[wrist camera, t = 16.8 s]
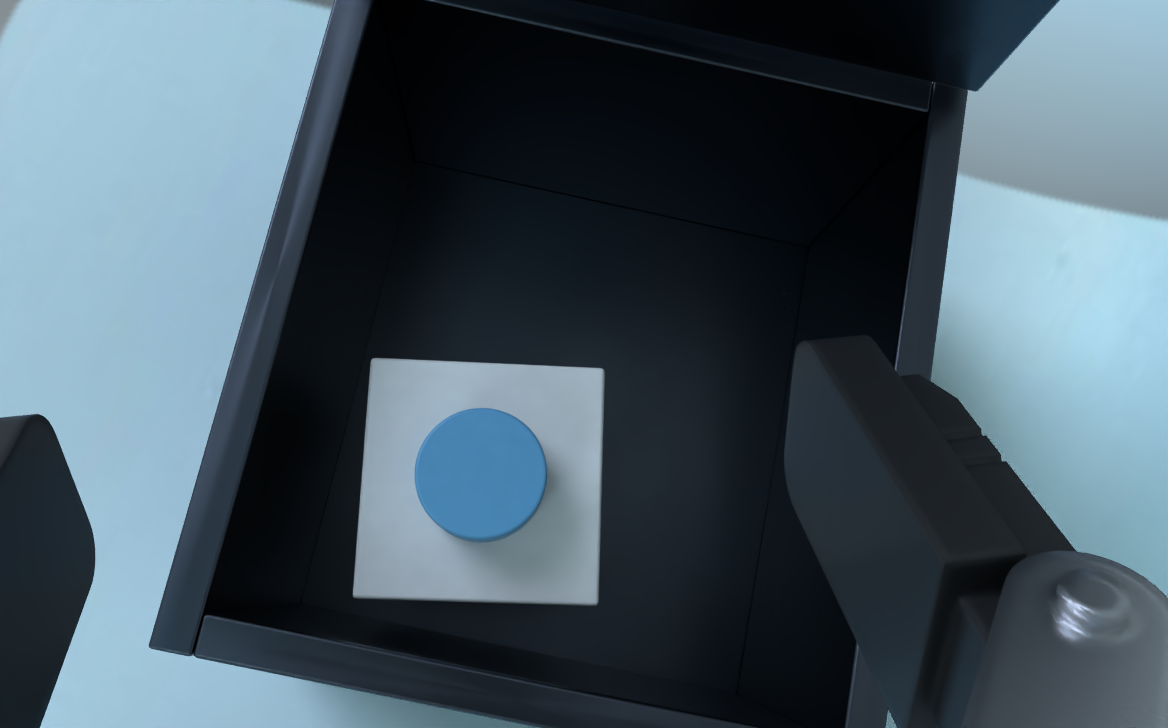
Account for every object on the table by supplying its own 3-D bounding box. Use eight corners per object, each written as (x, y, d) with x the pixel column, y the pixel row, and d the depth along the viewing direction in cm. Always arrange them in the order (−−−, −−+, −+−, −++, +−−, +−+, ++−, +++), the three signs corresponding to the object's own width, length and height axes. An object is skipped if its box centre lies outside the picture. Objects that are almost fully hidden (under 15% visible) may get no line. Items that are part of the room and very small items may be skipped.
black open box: (753, 726, 28) (878, 797, 19) (269, 626, 28) (146, 648, 18) (829, 237, 32) (969, 87, 22) (397, 142, 31) (348, -53, 22)
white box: (390, 595, 28) (341, 599, 19) (403, 412, 29) (361, 342, 20) (575, 600, 28) (604, 607, 20) (581, 420, 29) (611, 354, 21)
